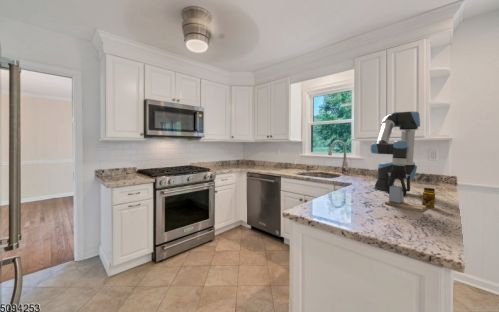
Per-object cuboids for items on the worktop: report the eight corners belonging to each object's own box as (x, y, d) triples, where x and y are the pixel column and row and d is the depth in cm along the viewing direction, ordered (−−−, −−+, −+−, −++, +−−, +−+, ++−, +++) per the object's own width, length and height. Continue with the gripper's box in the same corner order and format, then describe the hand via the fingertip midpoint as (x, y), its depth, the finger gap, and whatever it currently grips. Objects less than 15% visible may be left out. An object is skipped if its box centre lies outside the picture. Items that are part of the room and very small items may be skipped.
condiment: (423, 207, 137) (425, 188, 136) (417, 204, 145) (419, 186, 144) (437, 209, 135) (439, 189, 134) (431, 205, 143) (432, 187, 142)
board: (391, 201, 150) (391, 199, 150) (426, 208, 136) (426, 205, 136) (384, 204, 143) (385, 201, 143) (421, 212, 128) (421, 209, 128)
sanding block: (393, 199, 148) (394, 184, 147) (403, 201, 143) (405, 186, 142) (388, 201, 143) (389, 185, 142) (399, 203, 138) (400, 187, 137)
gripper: (380, 163, 146) (378, 197, 148) (415, 166, 131) (412, 204, 133) (384, 163, 151) (382, 196, 152) (418, 166, 136) (415, 202, 138)
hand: (396, 200), depth 143 cm, fingers closed on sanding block, 6 cm apart
